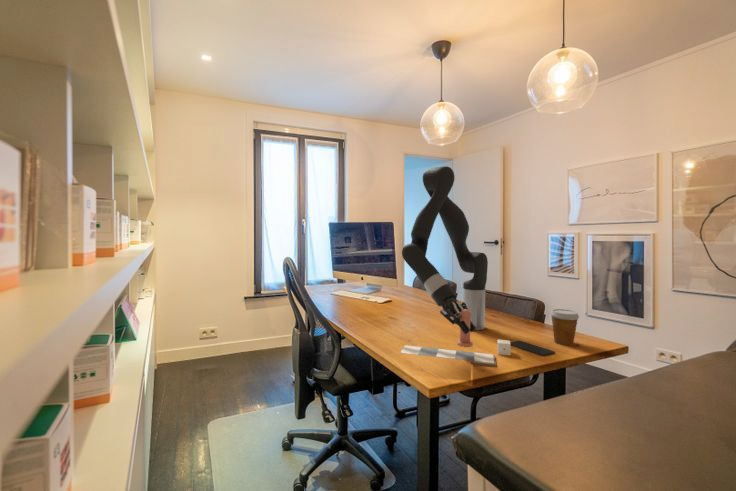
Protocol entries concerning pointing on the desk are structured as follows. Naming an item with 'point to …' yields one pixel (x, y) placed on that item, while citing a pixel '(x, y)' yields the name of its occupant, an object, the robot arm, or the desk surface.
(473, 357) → the board
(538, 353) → the phone
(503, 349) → the die
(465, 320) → the pawn
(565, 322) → the disposable coffee cup
